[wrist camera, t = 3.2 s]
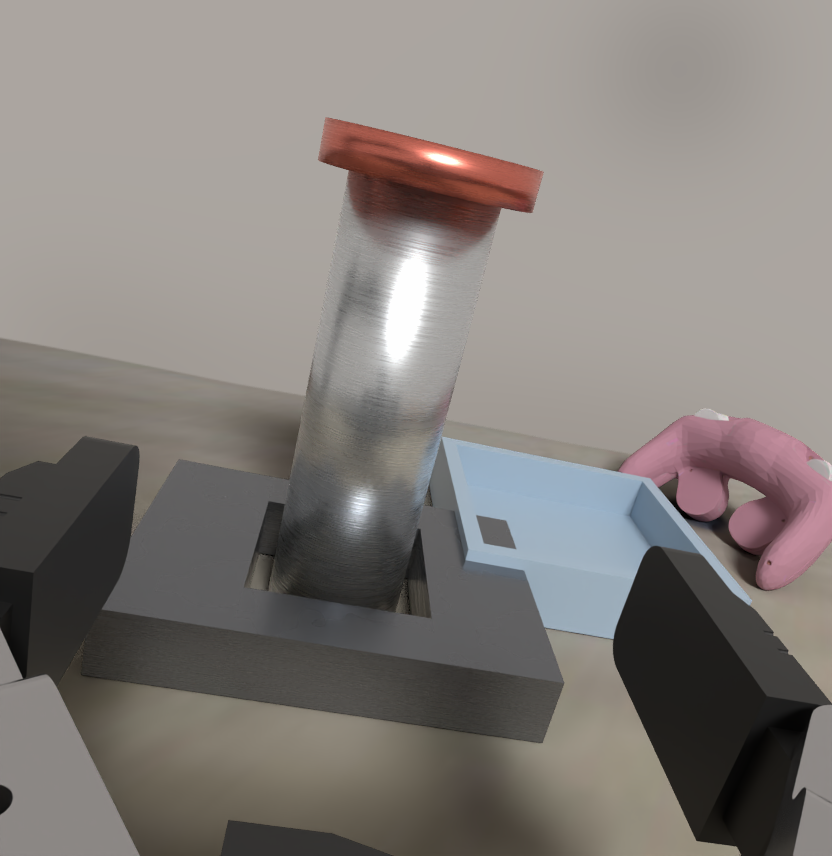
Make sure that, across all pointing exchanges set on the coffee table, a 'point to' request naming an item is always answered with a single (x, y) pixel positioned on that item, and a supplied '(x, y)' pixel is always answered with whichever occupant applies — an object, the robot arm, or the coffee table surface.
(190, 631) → the hitch bracket
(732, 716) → the robot arm
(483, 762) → the coffee table surface
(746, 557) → the coffee table surface
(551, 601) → the tray
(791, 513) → the video game controller
